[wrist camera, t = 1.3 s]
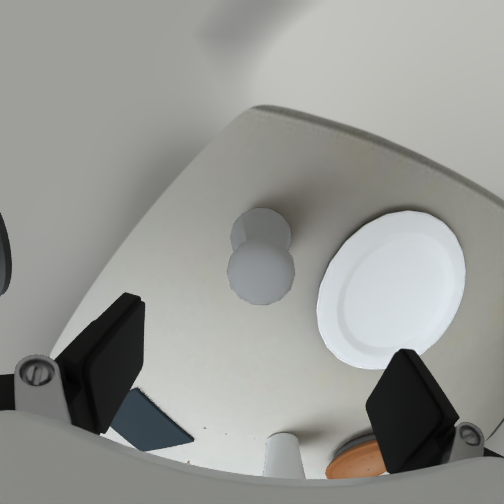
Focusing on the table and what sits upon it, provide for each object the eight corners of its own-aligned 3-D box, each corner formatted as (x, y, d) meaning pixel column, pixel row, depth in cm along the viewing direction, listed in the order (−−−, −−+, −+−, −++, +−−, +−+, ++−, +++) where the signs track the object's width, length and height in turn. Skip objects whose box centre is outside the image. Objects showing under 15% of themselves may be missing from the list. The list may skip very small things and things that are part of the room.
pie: (410, 417, 37) (419, 436, 33) (389, 460, 42) (395, 477, 37) (328, 434, 38) (332, 457, 33) (319, 474, 43) (322, 492, 38)
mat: (90, 404, 39) (89, 406, 38) (137, 387, 36) (135, 390, 36) (142, 449, 42) (141, 452, 41) (194, 439, 40) (193, 441, 39)
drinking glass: (269, 425, 38) (270, 507, 23) (309, 431, 38) (319, 508, 24) (256, 446, 39) (253, 520, 25) (292, 452, 40) (297, 522, 25)
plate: (276, 306, 32) (276, 313, 30) (401, 169, 27) (408, 170, 25) (379, 384, 35) (382, 391, 33) (478, 281, 30) (485, 286, 28)
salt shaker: (246, 267, 30) (237, 332, 18) (223, 219, 29) (195, 255, 17) (297, 246, 30) (322, 299, 17) (275, 195, 28) (287, 215, 16)
